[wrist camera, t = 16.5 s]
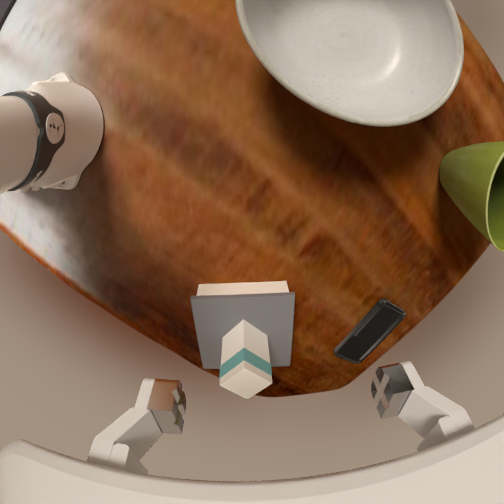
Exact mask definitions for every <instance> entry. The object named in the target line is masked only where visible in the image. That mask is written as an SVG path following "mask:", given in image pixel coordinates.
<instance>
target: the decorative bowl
mask: <svg viewBox="0 0 504 504" xmlns="http://www.w3.org/2000/svg"><path fill="white" fill-rule="evenodd" d="M235 1H236V10H237V16H238V20H239V23H240V26H241V29H242V32H243V34H244V36H245V38H246V40H247V42H248V44H249V46H250V48H251V49H252V51H253V52H254V54H255V56H256V57H257V58H258V60H259V61H260V62H261V64H262V65H263V66H264V67H265V68H266V70H267V71H268V72H269V73H270V74H271V75H272V76H273V77H274V78H275V79H276V80H277V81H278V82H279V83H280V84H281V85H283V86H284V87H285V88H286V89H287V90H289V91H290V92H291V93H292V94H294V95H295V96H297V97H298V98H299V99H301V100H302V101H304V102H306V103H307V104H309V105H311V106H312V107H314V108H316V109H318V110H320V111H322V112H324V113H326V114H329V115H331V116H334V117H336V118H339V119H342V120H345V121H348V122H352V123H356V124H361V125H367V126H377V127H390V126H400V125H405V124H409V123H413V122H415V121H418V120H421V119H423V118H425V117H427V116H428V115H430V114H432V113H433V112H435V111H436V110H437V109H439V108H440V107H441V106H442V105H443V104H444V103H445V102H446V101H447V99H448V98H449V97H450V95H451V94H452V92H453V91H454V89H455V87H456V85H457V83H458V80H459V78H460V74H461V71H462V66H463V58H464V45H463V36H462V31H461V26H460V23H459V19H458V17H457V14H456V11H455V9H454V7H453V5H452V3H451V1H450V0H235Z"/></svg>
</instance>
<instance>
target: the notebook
mask: <svg viewBox="0 0 504 504" xmlns="http://www.w3.org/2000/svg"><path fill="white" fill-rule="evenodd" d="M15 1H16V0H0V28H1V26H2V24H3V22H4V20H5V18H6V17H7V15H8V13H9V11H10V9H11V8H12V6H13V4H14V2H15Z"/></svg>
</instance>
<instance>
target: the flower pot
mask: <svg viewBox="0 0 504 504" xmlns="http://www.w3.org/2000/svg"><path fill="white" fill-rule="evenodd" d="M439 178H440V182H441V184H442V186H443V188H444V189H445V191H446V192H447V194H448V195H449V197H450V198H451V199H452V201H453V202H454V203H455V205H456V206H457V207H458V208H459V209H460V211H461V212H462V213H463V214H464V215H465V217H466V218H467V219H468V220H469V221H470V222H471V223H472V224H473V225H474V226H475V228H476V229H477V230H478V231H479V232H480V233H481V234H482V235H483V236H484V237H485V238H487V239H488V240H489V241H490V242H491V243H492V244H493V245H494V246H495V247H496V248H497V249H498V250H500V251H503V252H504V142H487V143H480V144H474V145H469V146H466V147H462V148H459V149H456V150H454V151H451V152H449V153H448V154H446V155H445V157H444V158H443V159H442V162H441V164H440V168H439Z"/></svg>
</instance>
